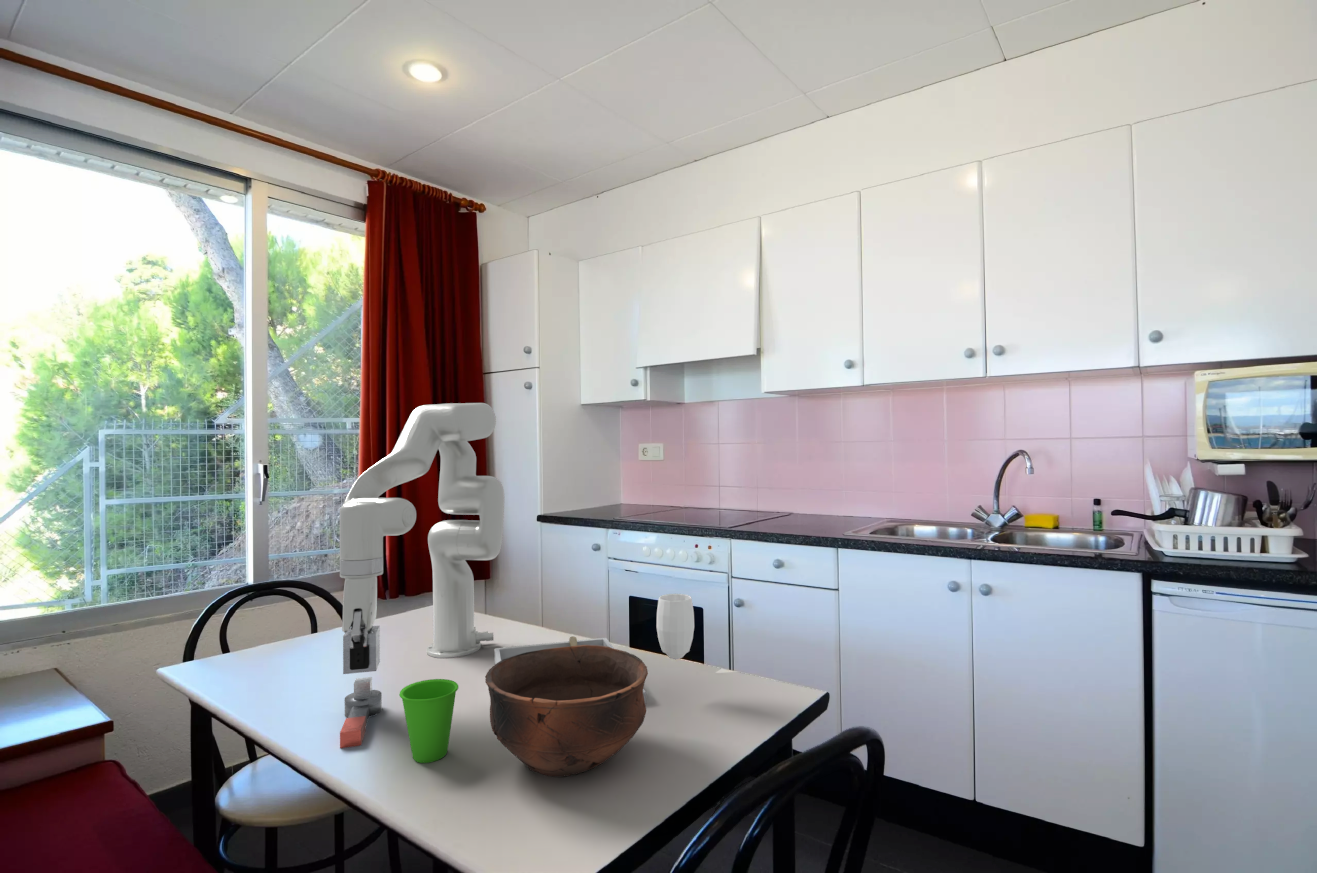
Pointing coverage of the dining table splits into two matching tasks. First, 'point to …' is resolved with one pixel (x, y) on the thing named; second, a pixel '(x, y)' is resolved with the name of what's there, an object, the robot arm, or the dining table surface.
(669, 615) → the cup
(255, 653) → the dining table surface
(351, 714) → the ratchet
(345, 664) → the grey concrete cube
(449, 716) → the cup
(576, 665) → the bowl
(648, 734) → the dining table surface
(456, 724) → the dining table surface
